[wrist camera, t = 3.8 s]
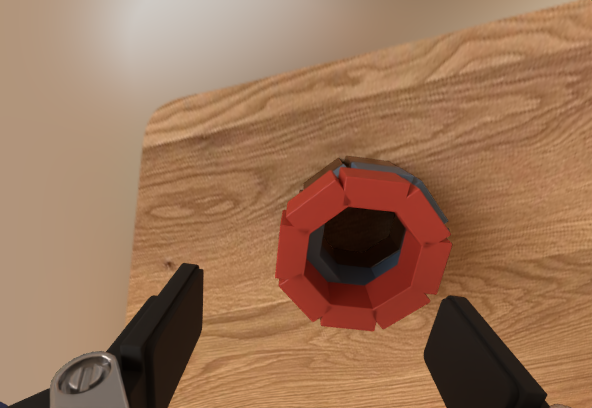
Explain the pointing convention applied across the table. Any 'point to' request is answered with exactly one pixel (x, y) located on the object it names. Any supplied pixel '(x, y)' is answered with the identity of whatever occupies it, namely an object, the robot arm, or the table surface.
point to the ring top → (387, 287)
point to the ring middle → (354, 273)
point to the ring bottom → (380, 249)
